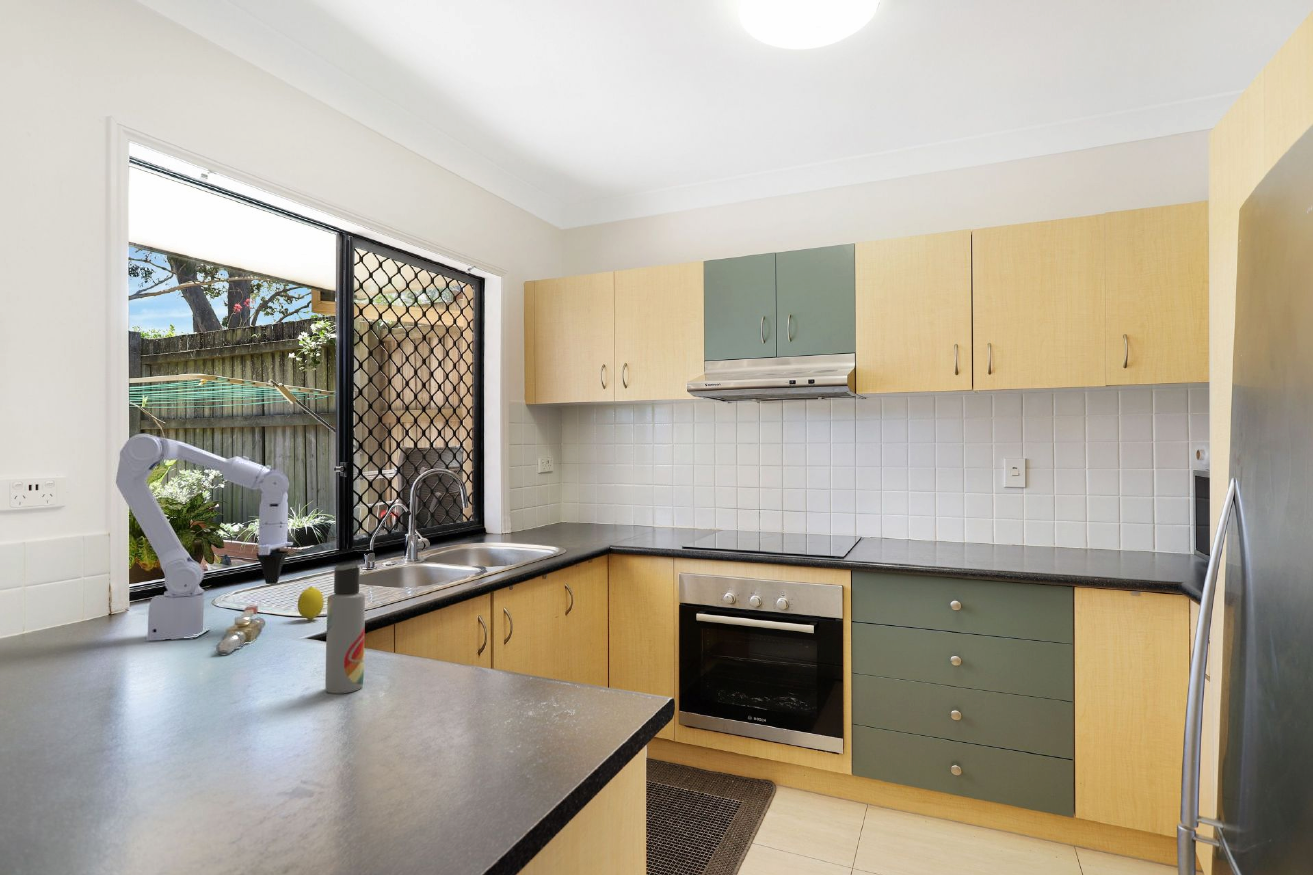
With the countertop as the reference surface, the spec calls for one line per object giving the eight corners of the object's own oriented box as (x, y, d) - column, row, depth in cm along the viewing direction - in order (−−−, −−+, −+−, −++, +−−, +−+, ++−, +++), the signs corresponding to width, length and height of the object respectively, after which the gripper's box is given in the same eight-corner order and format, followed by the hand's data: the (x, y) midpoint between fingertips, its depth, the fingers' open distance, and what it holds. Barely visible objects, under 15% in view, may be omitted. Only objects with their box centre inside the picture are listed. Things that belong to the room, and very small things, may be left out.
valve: (236, 657, 135) (237, 635, 135) (211, 659, 134) (211, 636, 134) (268, 632, 156) (269, 612, 156) (247, 633, 155) (247, 613, 155)
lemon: (312, 623, 162) (313, 588, 163) (291, 622, 164) (292, 588, 164) (328, 618, 168) (329, 585, 168) (308, 617, 169) (308, 584, 169)
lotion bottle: (371, 686, 115) (373, 563, 116) (342, 696, 110) (345, 568, 111) (346, 681, 118) (348, 562, 119) (317, 691, 113) (320, 566, 114)
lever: (250, 624, 144) (250, 618, 144) (233, 625, 143) (233, 619, 143) (259, 611, 157) (259, 605, 158) (244, 612, 156) (244, 606, 156)
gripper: (284, 525, 153) (282, 587, 153) (300, 520, 167) (298, 578, 167) (248, 526, 151) (246, 589, 151) (267, 521, 165) (266, 579, 165)
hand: (271, 583), depth 159 cm, fingers closed
